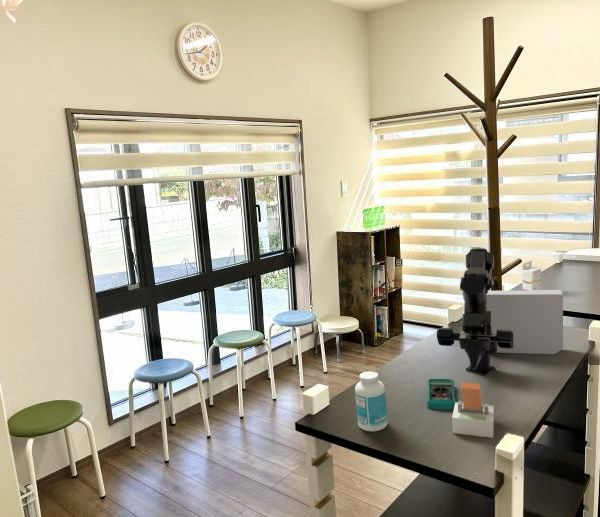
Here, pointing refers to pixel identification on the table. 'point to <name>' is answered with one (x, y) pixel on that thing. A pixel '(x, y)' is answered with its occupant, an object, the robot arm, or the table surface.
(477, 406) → the lever
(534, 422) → the table surface
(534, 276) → the ink cartridge box
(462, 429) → the switch base
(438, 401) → the digital multimeter
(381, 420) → the pill bottle
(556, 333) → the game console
